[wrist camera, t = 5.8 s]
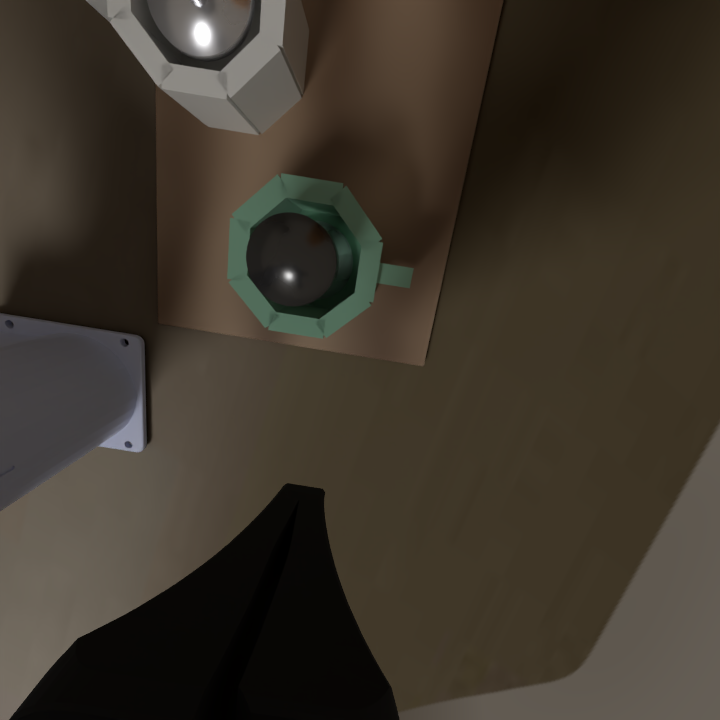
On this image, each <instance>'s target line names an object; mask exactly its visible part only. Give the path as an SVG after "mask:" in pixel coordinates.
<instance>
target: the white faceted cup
mask: <svg viewBox="0 0 720 720" xmlns="http://www.w3.org/2000/svg"><path fill="white" fill-rule="evenodd" d="M86 1H87V2H88V3H89V4H90V5H91V6H92V7H93V8H95V9H96V10H97V11H98V12H99V13H100V14H101V15H102V16H103V17H104V18H106V19H107V20H108V21H109V22H110V23H111V25H112V26H113V27H114V29H115V30H116V31H117V33H118V34H119V35H120V37H121V38H122V39H123V41H124V42H125V43H126V45H127V46H128V47H129V49H130V50H131V51H132V53H133V54H134V55H135V57H136V58H137V59H138V61H139V62H140V63H141V65H142V66H143V67H144V69H145V70H146V71H147V73H148V74H149V75H150V77H151V78H152V79H153V81H154V82H155V83H156V85H157V86H158V87H159V88H160V89H162V90H163V91H164V92H165V93H167V94H168V95H169V96H170V97H172V98H173V99H174V100H175V101H177V102H178V103H179V104H180V105H181V106H183V107H184V108H185V109H186V110H188V111H189V112H190V113H191V114H193V115H194V116H195V117H196V118H198V119H199V120H200V121H201V122H202V123H204V124H205V125H207V126H208V127H212V128H218V129H224V130H230V131H236V132H242V133H249V134H255V135H259V131H260V133H261V134H263V133H264V132H265V131H266V130H267V129H268V128H270V127H271V126H272V125H273V124H274V123H275V122H276V121H277V120H278V119H279V118H281V117H282V116H283V115H284V114H285V113H286V112H287V111H288V110H289V109H290V108H291V107H293V106H294V105H295V104H296V103H297V102H298V101H299V100H300V99H301V95H303V93H304V82H305V71H306V60H307V50H308V39H309V28H308V24H307V20H306V17H305V13H304V9H303V6H302V2H301V0H254V16H253V21H252V25H251V28H250V31H249V33H248V35H247V37H246V39H245V41H244V42H243V44H242V45H241V46H240V47H239V48H238V49H237V50H236V51H235V52H234V53H233V54H231V55H230V56H228V57H227V58H224V59H222V60H219V61H214V62H203V61H198V60H194V59H192V58H189V57H188V56H186V55H184V54H182V53H181V52H180V51H179V50H177V49H176V48H175V47H174V46H173V45H172V44H171V43H170V42H169V41H168V40H167V39H166V37H165V36H164V35H163V34H162V33H161V31H160V30H159V28H158V27H157V25H156V23H155V21H154V19H153V17H152V15H151V12H150V10H149V6H148V3H147V0H86ZM300 94H301V95H300Z"/></svg>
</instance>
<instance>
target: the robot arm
mask: <svg viewBox="0 0 720 720" xmlns="http://www.w3.org/2000/svg"><path fill="white" fill-rule="evenodd" d="M12 322H13V324H14V326H13V325H12ZM125 339H127V340H128V342H129V345H127V344H126V343H125ZM129 442H131V443H132V445H131V444H130V443H129ZM97 446H101V447H107V448H114V449H120V450H126V451H133V452H141V451H143V450H144V449H145V448H146V446H147V432H146V387H145V344H144V340H143V339H142V338H141V337H140V336H138V335H134V334H128V333H122V332H115V331H109V330H103V329H97V328H91V327H84V326H78V325H72V324H66V323H60V322H53V321H47V320H41V319H35V318H29V317H22V316H16V315H10V314H4V313H0V511H2V510H3V509H5V508H6V507H8V506H9V505H11V504H12V503H14V502H15V501H17V500H18V499H20V498H21V497H23V496H24V495H26V494H27V493H29V492H30V491H32V490H33V489H35V488H36V487H38V486H39V485H41V484H42V483H44V482H45V481H47V480H48V479H50V478H51V477H53V476H54V475H56V474H57V473H59V472H60V471H61V470H63V469H64V468H66V467H67V466H69V465H70V464H72V463H73V462H75V461H76V460H78V459H79V458H81V457H82V456H84V455H85V454H87V453H88V452H90V451H91V450H93V449H94V448H96V447H97ZM324 496H325V492H324V490H323V489H320V488H314V487H308V486H301V485H295V484H289V483H287V484H285V485H284V486H283V487H282V489H281V490H280V491H279V492H278V494H277V495H276V496H275V497H274V498H273V500H272V501H271V502H270V503H269V504H268V505H267V506H266V508H265V509H264V510H263V511H262V512H261V513H260V514H259V515H258V516H257V517H256V518H255V519H254V520H253V521H252V522H251V523H250V524H249V525H248V526H247V527H246V528H245V529H244V530H243V531H242V532H241V533H240V534H239V535H237V536H236V537H235V538H234V539H233V540H232V541H231V542H230V543H229V544H228V545H226V546H225V547H224V548H223V549H222V550H221V551H219V552H218V553H217V554H216V555H214V556H213V557H212V558H211V559H209V560H208V561H207V562H206V563H204V564H203V565H202V566H200V567H199V568H197V569H196V570H195V571H193V572H192V573H190V574H189V575H188V576H186V577H185V578H184V579H182V580H181V581H179V582H178V583H176V584H175V585H173V586H172V587H170V588H169V589H167V590H165V591H164V592H162V593H160V594H159V595H157V596H156V597H154V598H152V599H151V600H149V601H147V602H146V603H144V604H142V605H141V606H139V607H138V608H136V609H134V610H132V611H131V612H129V613H127V614H125V615H123V616H121V617H119V618H117V619H115V620H114V621H112V622H110V623H108V624H106V625H104V626H102V627H100V628H98V629H96V630H94V631H92V632H90V633H88V634H86V635H84V636H82V637H80V638H78V639H77V640H76V641H75V642H74V643H73V644H72V645H71V646H70V648H69V649H68V650H67V651H66V652H65V653H64V654H63V655H62V656H61V657H60V658H59V659H58V660H57V661H56V663H55V664H54V665H53V666H52V667H51V668H50V669H49V671H48V672H47V673H46V674H45V675H44V677H43V678H42V679H41V680H40V682H39V683H38V684H37V685H36V687H35V688H34V689H33V690H32V692H31V693H30V694H29V695H28V697H27V698H26V699H25V700H24V702H23V703H22V704H21V706H20V707H19V708H18V709H17V711H16V712H15V713H14V714H13V716H12V717H11V718H10V719H9V720H399V716H398V711H397V707H396V703H395V699H394V696H393V692H392V688H391V686H390V684H389V683H388V681H387V679H386V678H385V676H384V674H383V673H382V671H381V669H380V667H379V666H378V664H377V662H376V660H375V658H374V657H373V655H372V653H371V651H370V649H369V647H368V645H367V643H366V641H365V639H364V637H363V635H362V633H361V631H360V629H359V627H358V625H357V622H356V620H355V618H354V616H353V613H352V611H351V609H350V607H349V604H348V602H347V599H346V597H345V594H344V591H343V589H342V586H341V583H340V580H339V577H338V574H337V571H336V567H335V564H334V560H333V557H332V553H331V549H330V544H329V540H328V534H327V528H326V522H325V513H324Z"/></svg>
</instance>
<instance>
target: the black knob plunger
mask: <svg viewBox="0 0 720 720" xmlns="http://www.w3.org/2000/svg"><path fill="white" fill-rule="evenodd" d="M246 263H247V268H248V272H249V275H250V277H251V279H252V281H253V283H254V285H255V286H256V287H257V289H258V290H259V291H260V292H261V293H262V294H263V295H264V296H265V297H267V298H268V299H270V300H271V301H273V302H275V303H278V304H281V305H285V306H302V305H306V304H309V303H311V302H313V301H315V300H317V299H325V298H328V297H330V296H333V295H334V294H336V293H337V292H339V291H340V290H341V289H342V288H343V287H344V286H345V284H346V283H347V282H348V280H349V278H350V275H351V272H352V268H353V255H352V251H351V247H350V245H349V243H348V241H347V239H346V238H345V236H344V235H343V234H342V233H341V232H340V231H339V230H338V229H336V228H335V227H334V226H332V225H330V224H328V223H326V222H322V221H316V220H313V219H311V218H309V217H307V216H305V215H302V214H298V213H292V212H284V213H278V214H275V215H272V216H270V217H268V218H266V219H265V220H264V221H262V222H261V223H260V224H259V225H258V226H257V227H256V229H255V230H254V231H253V233H252V235H251V237H250V239H249V242H248V245H247V251H246Z"/></svg>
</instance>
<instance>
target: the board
mask: <svg viewBox="0 0 720 720" xmlns="http://www.w3.org/2000/svg"><path fill="white" fill-rule="evenodd" d="M301 2H302V6H303V9H304V13H305V17H306V20H307V24H308V28H309V39H308V50H307V60H306V71H305V82H304V93H303V95H301V94H300V95H301V99H300V100H299V101H298V102H297V103H296V104H295V105H294V106H293V107H291V108H290V109H289V110H288V111H287V112H286V113H285V114H284V115H283V116H282V117H281V118H279V119H278V120H277V121H276V122H275V123H274V124H273V125H272V126H271V127H270V128H268V129H267V130H266V131H265V132H264V133H263V134H261V133H260V131H259V135H255V134H249V133H242V132H236V131H230V130H224V129H218V128H212V127H208V126H207V125H205V124H204V123H202V122H201V121H200V120H199V119H198V118H196V117H195V116H194V115H193V114H191V113H190V112H189V111H188V110H186V109H185V108H184V107H183V106H181V105H180V104H179V103H178V102H177V101H175V100H174V99H173V98H172V97H170V96H169V95H168V94H167V93H165V92H164V91H163V90H162V89H160V88H159V87H158V86H157V85H156V179H157V275H158V324H165V325H171V326H177V327H183V328H189V329H196V330H202V331H208V332H214V333H220V334H227V335H233V336H239V337H245V338H251V339H258V340H264V341H270V342H276V343H282V344H289V345H295V346H301V347H307V348H314V349H320V350H326V351H332V352H338V353H345V354H351V355H357V356H363V357H369V358H376V359H382V360H388V361H394V362H400V363H407V364H413V365H419V366H424V362H425V358H426V353H427V349H428V344H429V339H430V335H431V330H432V326H433V321H434V317H435V312H436V307H437V303H438V298H439V294H440V289H441V284H442V280H443V275H444V271H445V266H446V262H447V257H448V252H449V248H450V243H451V239H452V234H453V229H454V225H455V220H456V216H457V211H458V207H459V202H460V197H461V193H462V188H463V184H464V179H465V174H466V170H467V165H468V161H469V156H470V152H471V147H472V142H473V138H474V133H475V129H476V124H477V119H478V115H479V110H480V106H481V101H482V97H483V92H484V87H485V83H486V78H487V74H488V69H489V64H490V60H491V55H492V51H493V46H494V42H495V37H496V32H497V28H498V23H499V19H500V14H501V9H502V5H503V0H301ZM281 173H283V174H289V175H295V176H302V177H308V178H314V179H320V180H326V181H332V182H338V183H343V185H344V187H345V186H347V187H348V189H349V190H350V192H351V193H352V195H353V196H354V198H355V199H356V201H357V202H358V204H359V205H360V206H361V208H362V209H363V211H364V212H365V214H366V215H367V217H368V218H369V220H370V221H371V223H372V224H373V226H374V227H375V229H376V230H377V232H378V233H379V235H380V236H381V238H382V241H381V242H382V243H383V247H382V253H381V259H380V263H384V264H391V265H397V266H403V267H409V268H414V269H413V274H412V279H411V284H410V288H404V287H398V286H392V285H386V284H380V283H376V289H375V295H374V301H373V302H372V303H371V306H370V307H369V308H367V309H366V310H364V311H363V312H362V313H360V314H359V315H358V316H356V317H355V318H353V319H352V320H351V321H349V322H348V323H346V324H345V325H344V326H342V327H341V328H340V329H338V330H337V331H335V332H334V333H333V334H331V335H330V336H328V337H327V338H326V337H324V338H323V339H321V338H315V337H308V336H302V335H296V334H290V333H284V332H277V331H271V330H268V328H269V326H268V327H267V328H265V327H264V326H263V325H262V323H261V322H260V321H259V320H258V319H257V317H256V316H255V315H254V314H253V312H252V311H251V310H250V309H249V307H248V306H247V305H246V304H245V302H244V301H243V300H242V299H241V297H240V296H239V295H238V294H237V292H236V291H235V290H234V289H233V287H232V286H231V285H230V284H229V281H231V280H232V279H227V272H228V250H229V228H230V218H234V217H233V215H232V213H234V212H235V211H236V210H237V209H238V208H239V207H241V206H242V205H243V204H244V203H245V202H246V201H247V200H249V199H250V198H251V197H252V196H253V195H254V194H255V193H257V192H258V191H259V190H260V189H261V188H262V187H263V186H265V185H266V184H267V183H268V182H269V181H270V180H271V179H273V178H274V177H275V176H276V175H277V174H278V175H279V176H280V177H281Z"/></svg>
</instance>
